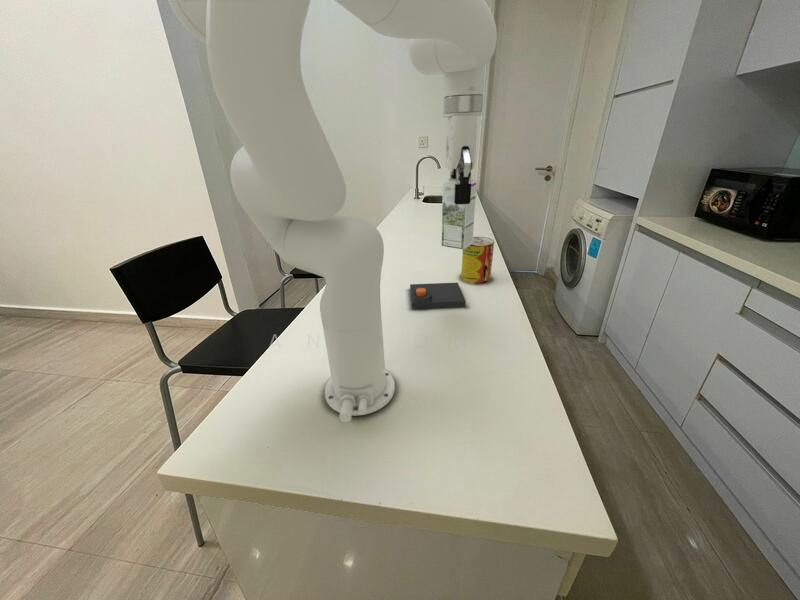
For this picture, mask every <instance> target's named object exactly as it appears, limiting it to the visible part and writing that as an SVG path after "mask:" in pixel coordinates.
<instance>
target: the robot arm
mask: <svg viewBox="0 0 800 600" xmlns="http://www.w3.org/2000/svg"><path fill="white" fill-rule="evenodd" d="M167 2H168V4H169V6H170V8H171V10H172V12H173V13H174V15H175V17H176V18H177V20H178V21H179V22H180V23H181V24H182V26H183V28H185V29H186V30H187V31H188V32H189V33H190V34H191V35H192V36H194V37H195V38H197V39H198V40H199V41H201V42H203V43H204V44H206V55H207V64H208V69H209V70H208V71H209V75H210V79H211V83H212V87H213V91H214V93H215V95H216V98H217V101H218V103H219V105H220V107H221V109H222V111H223V113H224V115H225V117H226V118H227V120H228V122H229V124H230V126H231V128H232V129H233V131H234V133H235V135H236V136H237V138H238V139H239V142H240V143H241V145H242V146H241V147H240V148H239V149H238V150H237V151H236V153H235V154H234V156H233V158H232V161H231V164H230V168H229V169H230V170H229V171H230V173H229V174H230V175H229V176H230V182H231V186H232V190H233V193H234V195H235V197H236V200H237V201H238V203H239V205H240V206H241V207H242V209H243V210H244V212H245V213H246V215H247V216H248V217H249V218H250V220H251V222H252V223H253V224H254V226H255V227H256V228H257V229H258V231H259V232H260V233H261V234H262V236H263V238H265V240H266V241H267V242H268V244H269V245H270V247H271V248H272V249H273V250H274V252H275V253H276V254H277V255H278V256H279V257H280V258H281V259H282V260H283V261H284V262H285V263H286V264H288V265H289V266H291V267H293V268H295V269H298V270H300V271H304V272H307V273H311V274H314V275H317V276H319V277H322V278H324V281H325V286H324V289H323V290H324V291H323V292H322V294H321V298H320V302H319V312H320V318H321V323H322V324H321V325H322V330H323V336H324V341H325V347H326V354H327V360H328V366H329V367H328V368H329V372H330V378H329V379H328V380H327V381H326V384H325V386H324V398H325V401H326V403H327V405H328V406H329V407H330V408H331V409H332V410H333V411H335V412H337V413H339V416H338V420H339V421H340V422H342V423H345V424H347V423H350V422H351V420H352V417H353V416H355V417H356V416H365V415H369V414H372V413H374V412H378V411H379V410H381V409H383V408H384V407H385V406H386V405H387V404H389V403H390V401H391V400H392V398H393V397H394V394H395V391H396V384H395V378H394V376H393V375H392V374H391V373H390V372H389V370H388V369H386V362H385V349H384V334H383V320H382V318H383V317H382V305H381V279H382V269H383V263H384V255H385V244H384V239H383V236H382V235H381V232H380V231H379V230H378V228H377V227H376V226H375V225H374V224H373V223H371V222H369V221H368V220H366V219H364V218H361V217H358V216H355V215H354V216H353V215H349V214H344V213H343V214H342V213H340V212H341V211H342V209H343V208H344V205H345V203H346V199H347V187H346V182H345V179H344V176H343V172H342V170H341V167H340V165H339V163H338V161H337V159H336V157H335V154H334V152H333V150H332V147H331V146H330V144H329V141H328V139H327V137H326V135H325V132H324V130H323V128H322V126H321V124H320V122H319V119H318V117H317V115H316V112H315V110H314V108H313V105H312V103H311V100H310V97H309V95H308V92H307V90H306V87H305V83H304V80H303V74H302V67H301V66H302V65H301V50H302V49H301V48H302V39H303V32H304V26H305V22H306V19H307V15H308V12H309V8H310V4H311V0H167ZM334 2H336V3H337V4H338V5H340V6H342V7H343V8H344V9H345V10H347V11H349V13H351V14H352V15H353V16H355V18H357V19H359V20H360V21H361V22H363V24H365V25H366V26H368V27H369V28H371V29H372V30H373V31H374V32H375V33H377V34H378V35H379V34H380V35H382V36H384V37H388V38H389V37H390V38H396V39H403V40H404V39H405V40H409V41H408V42H409V43H408V54H409V58H410V61H411V64H412V65H413V67H414V68H415V69H416V70H417V71H418V72H420V73H421V74H423V75H425V76H438V75H443V115H442V117H443V118H447V124H446V125H447V126H446V136H445V137H446V139H445V157H444V167H445V168H446V169H447V170H449V172H450V173H449V179H457V184H455V201H454V203H455V204H469V203H470V198H471V179H472V170H473V169H474V168H475V162H476V150H477V129H478V126H477V124H478V122H477V121H478V119H477V117H480V116H483V108H484V107H483V106H484V105H483V104H484V90H485V77H486V76H485V74H486V65H487V64H488V63H489V62H490V60H491V59H492V58H493V55H494V54H495V51H496V47H497V41H498V32H497V31H498V30H497V24H496V21H495V17H494V14H493V13H492V11H491V8H490V7H489V5H488V4H487V2H486V0H334Z"/></svg>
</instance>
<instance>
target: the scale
mask: <svg viewBox="0 0 800 600" xmlns="http://www.w3.org/2000/svg"><path fill="white" fill-rule="evenodd" d="M418 288H425V289H426V296H423V297H419V296H416V289H418ZM409 291H410V292H409V293H410V301H411V309H412V310H427V309H429V310H430V309H451V308H453V309H455V308H466V299H465V296H464V294H463V292H462V289H461V287H460V285H459V282H437V283H435V282H434V283H432V282H431V283H411V284H409Z"/></svg>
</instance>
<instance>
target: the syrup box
mask: <svg viewBox="0 0 800 600" xmlns="http://www.w3.org/2000/svg"><path fill="white" fill-rule="evenodd" d="M477 182H478V180H477V179H472V178H471V198H470V203H469V204H455V203H454V201H455V184H457V179H451V178H449V179H446V180H444V181H442V198H441V199H442V206H441V207H442V208H441V247H447V248H452V249H458V250H463V249H465V248H467V247H468V246H470V245H471V244H472V243H473V237H474V226H475V212H476V211H475V210H476V198H477V186H478V185H477V184H478V183H477Z"/></svg>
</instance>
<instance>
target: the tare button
mask: <svg viewBox="0 0 800 600" xmlns="http://www.w3.org/2000/svg"><path fill="white" fill-rule="evenodd" d="M416 296H419V297H423V296H426V289H425V288H418V289H416Z"/></svg>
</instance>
